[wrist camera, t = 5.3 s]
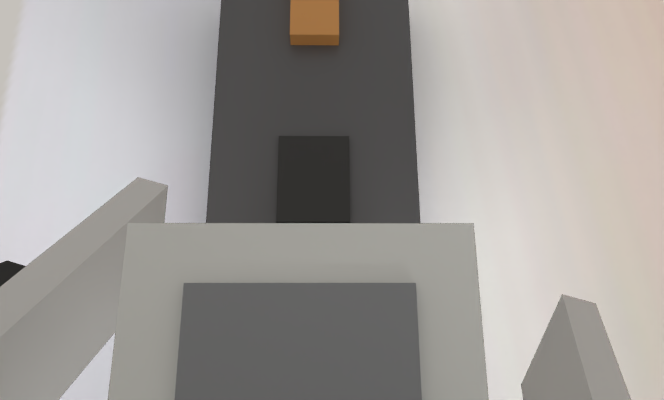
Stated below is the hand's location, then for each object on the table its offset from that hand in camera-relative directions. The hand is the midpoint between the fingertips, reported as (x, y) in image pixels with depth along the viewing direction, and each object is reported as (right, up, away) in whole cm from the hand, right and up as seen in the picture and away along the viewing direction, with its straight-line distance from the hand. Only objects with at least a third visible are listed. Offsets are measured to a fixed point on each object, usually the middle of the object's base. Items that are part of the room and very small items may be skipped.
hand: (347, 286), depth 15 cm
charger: (-1, -5, +4) cm, 6 cm away
